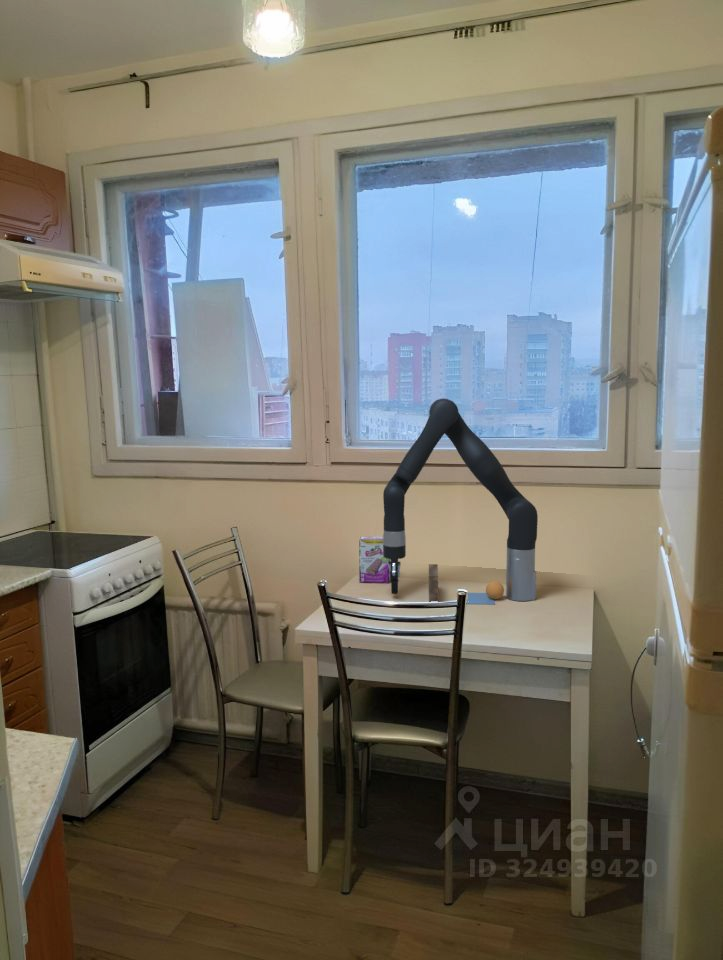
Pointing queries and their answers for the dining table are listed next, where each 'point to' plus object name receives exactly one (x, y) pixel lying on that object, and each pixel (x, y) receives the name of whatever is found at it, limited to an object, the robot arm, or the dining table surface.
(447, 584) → the dining table surface
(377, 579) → the candy bar box
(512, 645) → the dining table surface
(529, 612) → the dining table surface
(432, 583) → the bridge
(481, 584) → the dining table surface
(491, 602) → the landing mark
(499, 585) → the ball
